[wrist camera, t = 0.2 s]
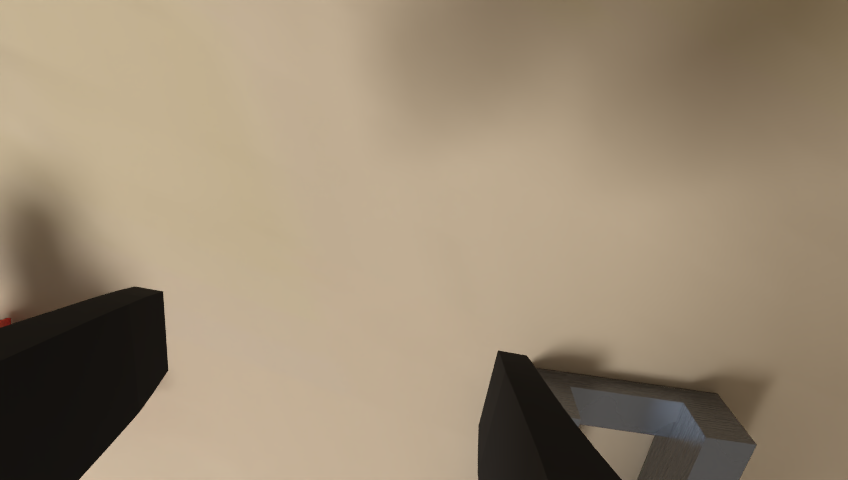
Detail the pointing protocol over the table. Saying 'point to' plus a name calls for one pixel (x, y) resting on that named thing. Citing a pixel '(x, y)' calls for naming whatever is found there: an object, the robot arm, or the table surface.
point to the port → (660, 424)
